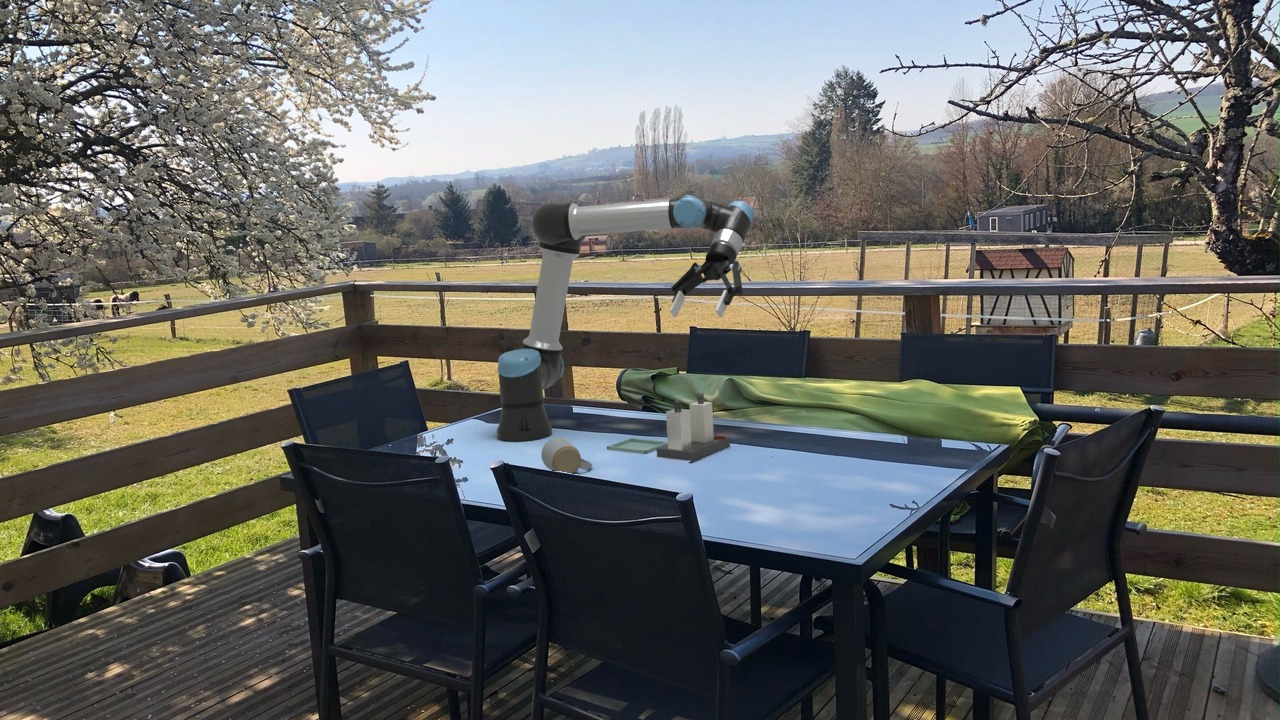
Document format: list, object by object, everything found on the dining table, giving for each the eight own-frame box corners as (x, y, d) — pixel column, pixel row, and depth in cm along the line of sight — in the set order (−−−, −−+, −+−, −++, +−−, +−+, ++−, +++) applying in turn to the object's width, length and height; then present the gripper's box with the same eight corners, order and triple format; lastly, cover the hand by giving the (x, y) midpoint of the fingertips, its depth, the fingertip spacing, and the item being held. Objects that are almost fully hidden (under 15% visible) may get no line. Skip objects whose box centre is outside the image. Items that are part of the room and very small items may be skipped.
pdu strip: (657, 458, 212) (653, 401, 210) (695, 443, 225) (693, 389, 224) (692, 463, 206) (689, 404, 204) (730, 447, 219) (727, 391, 218)
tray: (607, 451, 222) (606, 446, 222) (631, 443, 230) (630, 437, 230) (645, 456, 215) (645, 450, 215) (669, 447, 223) (669, 442, 223)
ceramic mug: (553, 479, 199) (551, 445, 198) (541, 471, 206) (539, 439, 205) (597, 472, 203) (596, 439, 202) (584, 465, 210) (582, 433, 210)
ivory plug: (691, 448, 218) (688, 394, 217) (700, 444, 222) (697, 391, 220) (705, 449, 216) (702, 395, 214) (714, 446, 219) (711, 392, 217)
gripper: (771, 259, 228) (744, 323, 218) (690, 262, 243) (661, 322, 233) (760, 238, 223) (732, 303, 213) (678, 243, 238) (648, 304, 228)
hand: (695, 313), depth 223 cm, fingers open, 13 cm apart
